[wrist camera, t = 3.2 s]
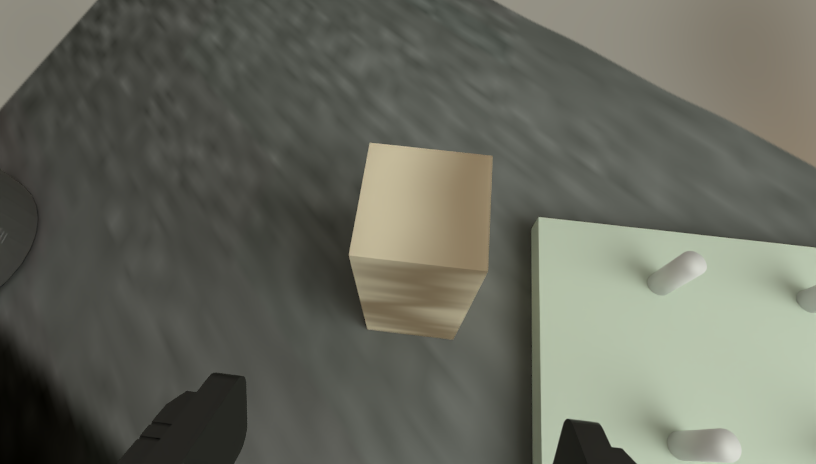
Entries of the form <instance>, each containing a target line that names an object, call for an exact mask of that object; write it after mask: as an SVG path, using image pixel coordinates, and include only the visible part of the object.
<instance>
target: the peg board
mask: <svg viewBox="0 0 816 464" xmlns="http://www.w3.org/2000/svg"><path fill="white" fill-rule="evenodd" d="M531 275H532V457H533V464H553V461H554V457H555V453H556V449H557V446H558V442H559V438H560V434H561V430H562V427H563V423H564V421H565V420H566V419H575V420H583V421H591V422H598V423H599V424H600V425H601V426H602V428H603V430H604V432H605V434H606V436H607V438H608V441H609V443H610V445H611V447H616V448H622V449H623V450H624V451H625V452H626V453H627V454H628V455H629V456H630V457H631V458H632V459H633V460H634V461H635V462H636V463H637V464H816V248H814V247H805V246H796V245H787V244H778V243H769V242H760V241H751V240H742V239H733V238H724V237H715V236H705V235H696V234H687V233H678V232H669V231H660V230H651V229H642V228H633V227H624V226H615V225H606V224H597V223H588V222H579V221H570V220H561V219H552V218H543V217H538V219H537V220H536V222H535V224H534V225H533V227H532V229H531Z"/></svg>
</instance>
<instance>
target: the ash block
mask: <svg viewBox="0 0 816 464" xmlns="http://www.w3.org/2000/svg"><path fill="white" fill-rule="evenodd" d="M492 157H493V156H489V155H479V154H470V153H461V152H451V151H442V150H433V149H423V148H414V147H405V146H395V145H386V144H377V143H370V144H369V150H368V155H367V160H366V166H365V171H364V176H363V182H362V187H361V192H360V198H359V203H358V208H357V214H356V219H355V224H354V229H353V235H352V240H351V245H350V251H349V259H350V263H351V267H352V271H353V274H354V278H355V282H356V286H357V290H358V294H359V298H360V302H361V306H362V310H363V314H364V318H365V322H366V326H367V329H368V330H376V331H385V332H393V333H401V334H410V335H418V336H426V337H435V338H443V339H451V340H453V339H454V337H455V335H456V333H457V331H458V329H459V327H460V325H461V323H462V321H463V319H464V317H465V315H466V313H467V311H468V309H469V308H470V306H471V304H472V302H473V300H474V298H475V296H476V294H477V292H478V290H479V288H480V286H481V284H482V282H483V280H484V278H485V276H486V274H487V272H488V257H489V232H490V207H491V182H492Z"/></svg>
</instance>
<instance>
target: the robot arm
mask: <svg viewBox="0 0 816 464" xmlns="http://www.w3.org/2000/svg"><path fill="white" fill-rule="evenodd" d="M37 221H38V216H37V209H36V204H35V202H34V200H33V198H32V196H31V194H30V193H29V192H28V190H27V189H26V188H25V187H24V186H23V185H22V184H20V183H19V182H18V181H16V180H15V179H13V178H12V177H10V176H9V175H8V174H6V173H5V172H3V171H2V170H1V169H0V286H1V285H3V284H4V283H5V282H6V281H7V280H8V279H9V278H10V277H11V276H12V274H13V273H14V272H15V271H16V270H17V269H18V267H19V266H20V265H21V263H22V262H23V260H24V258H25V257H26V255H27V253H28V252H29V250H30V248H31V245H32V243H33V240H34V237H35V235H36V229H37ZM246 431H247V398H246V380H245V377H244V376H238V375H230V374H222V373H212V374H211V375H210V376H209V377H208V378H207V380H206V381H205V382H204V384H203V385H202V386H201V387H200V389H199V390H198V391H197V392H191V391H186V392H185V393H183V394H182V395H180V396H178V397H177V398H175V399H174V400H172V401H171V402H169V403H168V404H166V405H165V407H164V408H163V409H162V410H161V411H160V413H159V414H158V415H157V416H156V417H155V419H154V420H153V421H152V424H151V425H149V426H148V427H147V428H146V429H145V430H144V432H143V433H142V434H141V435H140V438H139V439H137V440H136V441H135V442H134V443H133V445H132V446H131V447H130V448H129V449H128V451H127V452H126V453H125V454H124V455H123V457H122V458H121V459H120V460H119V461H118V462H117V464H234V462H235V461H236V459H237V457H238V455H239V453H240V451H241V449H242V446H243V444H244V440H245V437H246ZM553 464H637V463H636V462H635V461H634V460H633V459H632V458H631V457H630V456H629V455H628V454H627V453H626V452H625V451H624V450H623V449H622V448H616V447H611V445H610V443H609V441H608V438H607V436H606V434H605V432H604V430H603V428H602V426H601V425H600V424H599V423H598V422H591V421H583V420H575V419H566V420H565V421H564V423H563V427H562V430H561V434H560V438H559V442H558V446H557V449H556V453H555V457H554V461H553Z"/></svg>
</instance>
